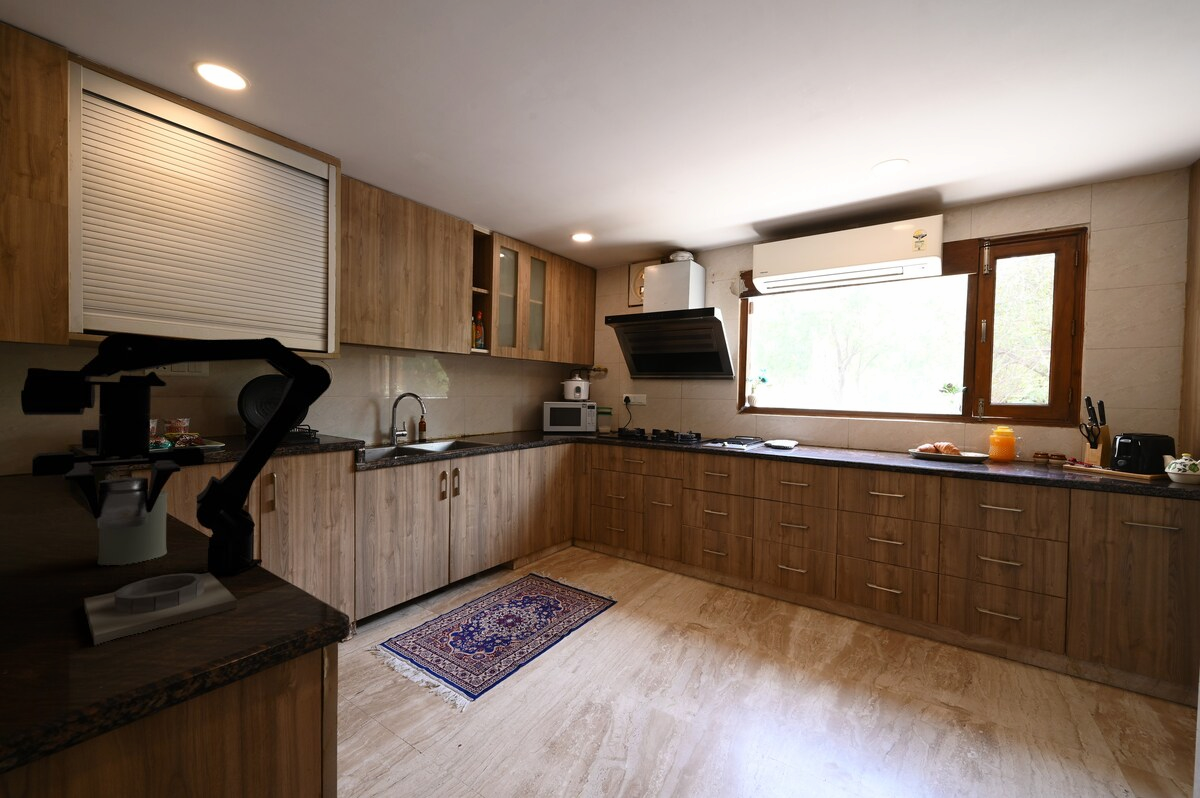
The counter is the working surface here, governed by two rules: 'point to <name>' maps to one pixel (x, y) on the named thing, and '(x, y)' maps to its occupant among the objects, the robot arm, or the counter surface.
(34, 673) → the counter surface
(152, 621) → the ring plate
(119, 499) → the piston
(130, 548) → the can
